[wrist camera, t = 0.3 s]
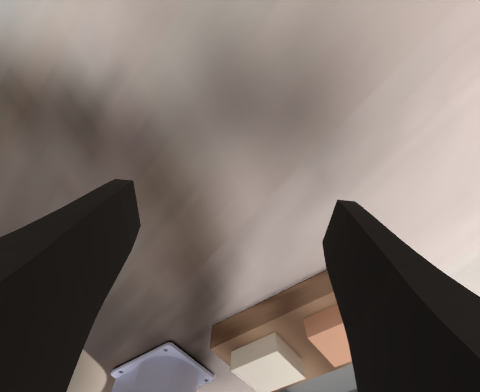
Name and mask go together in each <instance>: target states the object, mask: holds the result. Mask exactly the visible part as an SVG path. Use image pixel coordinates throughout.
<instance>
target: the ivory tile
mask: <svg viewBox="0 0 480 392" xmlns="http://www.w3.org/2000/svg"><path fill="white" fill-rule="evenodd" d="M231 371H232V372H233V373H234V374H235V375H236V376H238V377H239V378H240V379H241V380H243V381H244V382H245V383H246V384H248V385H249V386H250V387H251V388H252V389H254V390H255V391H256V392H272V391H274V390H277V389H280V388H282V387H285V386H287V385H290V384H293V383H295V382H298V381H301V380H303V379H306V377H305V372H304V367H303V362H302V359H301V358H300V357H299V356H298V355H297V354H296V353H295V352H294V351H293V350H292V349H291V348H290V347H289V346H288V345H287V344H286V343H285V342H284V341H283V340H282V339H281V338H280V337H279V336H278V335H277V334H276V333H275V332H274V333H272V334H270V335H267V336H265V337H263V338H261V339H258V340H256V341H254V342H252V343H250V344H247V345H245V346H243V347H241V348H238V349H236V350H234V351H232V352H231Z"/></svg>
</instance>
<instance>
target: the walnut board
mask: <svg viewBox="0 0 480 392" xmlns="http://www.w3.org/2000/svg"><path fill="white" fill-rule="evenodd" d="M336 304H337V301H336V298H335V295H334V292H333V288H332V285H331V282H330V278H329V275H328V271H327V270H326V271H324V272H322V273H320V274H318V275H316V276H314V277H311V278H309V279H307V280H305V281H303V282H301V283H299V284H297V285H295V286H293V287H291V288H289V289H287V290H285V291H283V292H281V293H279V294H277V295H275V296H273V297H271V298H269V299H267V300H265V301H263V302H261V303H259V304H257V305H255V306H253V307H251V308H249V309H247V310H245V311H243V312H241V313H239V314H236V315H234V316H232V317H230V318H228V319H226V320H224V321H222V322H220V323H218V324H216V325H214V326H212V333H211V342H210V350H211V351H212V352H214V353H215V354H216V355H217V356H218V357H220V358H221V359H222V360H223V361H224V362H226V363H227V364H228V365H229V366H231V352H232V351H234V350H236V349H238V348H241V347H243V346H245V345H247V344H250V343H252V342H254V341H256V340H258V339H261V338H263V337H265V336H267V335H270V334H272V333H274V332H275V333H276V334H277V335H278V336H279V337H280V338H281V339H282V340H283V341H284V342H285V343H286V344H287V345H288V346H289V347H290V348H291V349H292V350H293V351H294V352H295V353H296V354H297V355H298V356H299V357H300V358H301V359H302V362H303V367H304V372H305V377H306V379H303V380H301V381H298V382H295V383H293V384H290V385H287V386H285V387H282V388H280V389H277V390H274V391H272V392H278V391H281V390H284V389H286V388H289V387H291V386H294V385H297V384H299V383H302V382H305V381H307V380H310V379H313V378H315V377H318V376H321V375H323V374H326V373H329V372H331V371H334V370H337V369H339V368H342V367H344V366H347V365H350V364H352V361H351V362H348V363H345V364H343V365H340V366H337V367H334V366H333V365H332V364H331V363H330V362H329V361H328V359H327V358H326V357H325V356H324V355H323V354H322V353H321V352H320V351H319V350H318V349H317V348H316V347H315V345H314V344H313V343H312V342H311V341H310V340H309V339H308V338H307V333H306V329H305V325H304V321H303V319H305V318H307V317H310V316H312V315H314V314H316V313H318V312H321V311H323V310H325V309H327V308H330V307H332V306H334V305H336Z"/></svg>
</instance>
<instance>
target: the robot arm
mask: <svg viewBox="0 0 480 392" xmlns="http://www.w3.org/2000/svg"><path fill="white" fill-rule="evenodd" d="M140 226H141V225H140V219H139V213H138V207H137V201H136V195H135V189H134V183H133V181H131V180H120V179H115V180H113V181H110V182H108V183H106V184H104V185H102V186H101V187H99V188H97V189H95V190H93V191H91V192H90V193H88V194H86V195H84V196H82V197H81V198H79V199H77V200H75V201H73V202H71V203H70V204H68V205H66V206H64V207H62V208H60V209H58V210H56V211H54V212H52V213H50V214H48V215H46V216H44V217H42V218H40V219H38V220H36V221H34V222H32V223H30V224H28V225H26V226H24V227H22V228H20V229H18V230H16V231H14V232H11V233H9V234H7V235H5V236H2V237H0V392H66V391H67V388H68V385H69V383H70V380H71V378H72V375H73V372H74V370H75V367H76V365H77V362H78V359H79V357H80V354H81V352H82V349H83V347H84V344H85V342H86V340H87V337H88V335H89V333H90V330H91V328H92V325H93V323H94V321H95V318H96V316H97V314H98V312H99V310H100V308H101V306H102V304H103V302H104V300H105V299H106V297H107V295H108V293H109V291H110V289H111V287H112V286H113V284H114V282H115V280H116V278H117V276H118V274H119V273H120V271H121V269H122V267H123V265H124V263H125V261H126V260H127V258H128V256H129V254H130V252H131V250H132V247H133V245H134V242H135V240H136V237H137V234H138V231H139V228H140ZM323 249H324V256H325V262H326V268H327V271H328V275H329V278H330V282H331V285H332V288H333V292H334V295H335V298H336V301H337V305H338V308H339V311H340V315H341V318H342V321H343V324H344V328H345V332H346V336H347V339H348V344H349V349H350V354H351V359H352V364H353V369H354V375H355V380H356V386H357V392H480V297H479V296H478V295H476V294H474V293H473V292H471V291H470V290H468V289H467V288H465V287H464V286H462V285H461V284H460V283H458V282H457V281H455V280H454V279H452V278H451V277H449V276H448V275H446V274H445V273H443V272H442V271H441V270H439V269H438V268H436V267H435V266H434V265H432V264H431V263H430V262H429V261H427V260H426V259H425V258H423V257H422V256H421V255H419V254H418V253H417V252H415V251H414V250H413V249H412V248H410V247H409V246H408V245H407V244H405V243H404V242H403V241H402V240H401V239H399V238H398V237H397V236H396V235H395V234H393V233H392V232H391V231H390V230H389V229H388V228H386V227H385V226H384V225H383V224H382V223H380V222H379V221H378V220H377V219H376V218H375V217H373V216H372V215H371V214H370V213H369V212H368V211H366V210H365V209H364V208H363V207H361V206H360V205H359V204H357V203H356V202H355V201H344V200H337V203H336V206H335V208H334V211H333V214H332V217H331V220H330V222H329V225H328V228H327V231H326V234H325V237H324V239H323ZM111 375H112V376H113V377H114V378H116V380H115V383H114V386H113V388H112V391H111V392H196V390H197V387H199V386H201V385H204V384H206V383H209V382H211V381H213V380H214V375H213V374H212V373H210V372H209V371H208V370H207V369H205V368H204V367H203V366H201V365H200V364H199V363H197V362H196V361H195V360H194V359H192V358H191V357H190V356H188V355H187V354H186V353H185V352H183V351H182V350H181V349H179V348H178V347H177V346H176V345H174V344H173V343H171V342H168V343H166V344H164V345H162V346H160V347H158V348H156V349H154V350H152V351H150V352H148V353H146V354H144V355H142V356H140V357H138V358H136V359H134V360H132V361H130V362H128V363H126V364H124V365H122V366H120V367H118V368H116V369H114V370H112V372H111Z"/></svg>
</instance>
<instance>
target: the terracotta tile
mask: <svg viewBox="0 0 480 392" xmlns="http://www.w3.org/2000/svg"><path fill="white" fill-rule="evenodd" d="M303 321H304V325H305V329H306V333H307V338H308V339H309V340H310V341H311V342H312V343H313V344H314V345H315V347H316V348H317V349H318V350H319V351H320V352H321V353H322V354H323V355H324V356H325V357H326V358H327V359H328V361H329V362H330V363H331V364H332V365H333V366H334V367H337V366H340V365H343V364H345V363H348V362H351V361H352V359H351V354H350V349H349V344H348V339H347V336H346V332H345V328H344V324H343V321H342V318H341V315H340V311H339V308H338V305H337V304H336V305H334V306H332V307H330V308H327V309H325V310H323V311H321V312H318V313H316V314H314V315H312V316H310V317H307V318H305V319H303Z"/></svg>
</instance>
